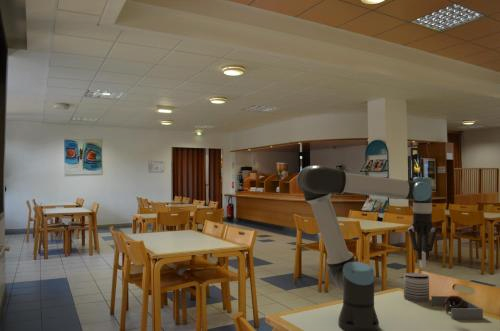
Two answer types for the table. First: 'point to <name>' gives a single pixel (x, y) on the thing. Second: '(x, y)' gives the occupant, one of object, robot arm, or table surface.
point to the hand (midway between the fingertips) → (422, 267)
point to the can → (416, 287)
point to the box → (460, 309)
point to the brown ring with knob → (455, 303)
